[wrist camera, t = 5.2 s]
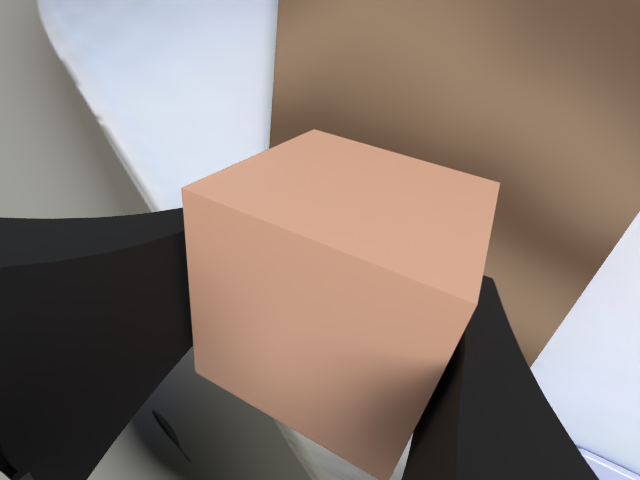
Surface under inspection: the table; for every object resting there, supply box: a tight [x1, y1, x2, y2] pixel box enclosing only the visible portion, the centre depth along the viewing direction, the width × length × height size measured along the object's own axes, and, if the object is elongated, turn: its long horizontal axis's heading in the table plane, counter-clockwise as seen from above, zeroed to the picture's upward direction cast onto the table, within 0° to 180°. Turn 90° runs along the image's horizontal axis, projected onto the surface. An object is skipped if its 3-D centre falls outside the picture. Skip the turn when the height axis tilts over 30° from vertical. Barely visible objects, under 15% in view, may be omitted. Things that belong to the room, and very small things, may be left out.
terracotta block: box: [182, 129, 500, 480], centre depth 9 cm, size 5×5×5 cm
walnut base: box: [269, 0, 640, 368], centre depth 15 cm, size 18×14×2 cm
